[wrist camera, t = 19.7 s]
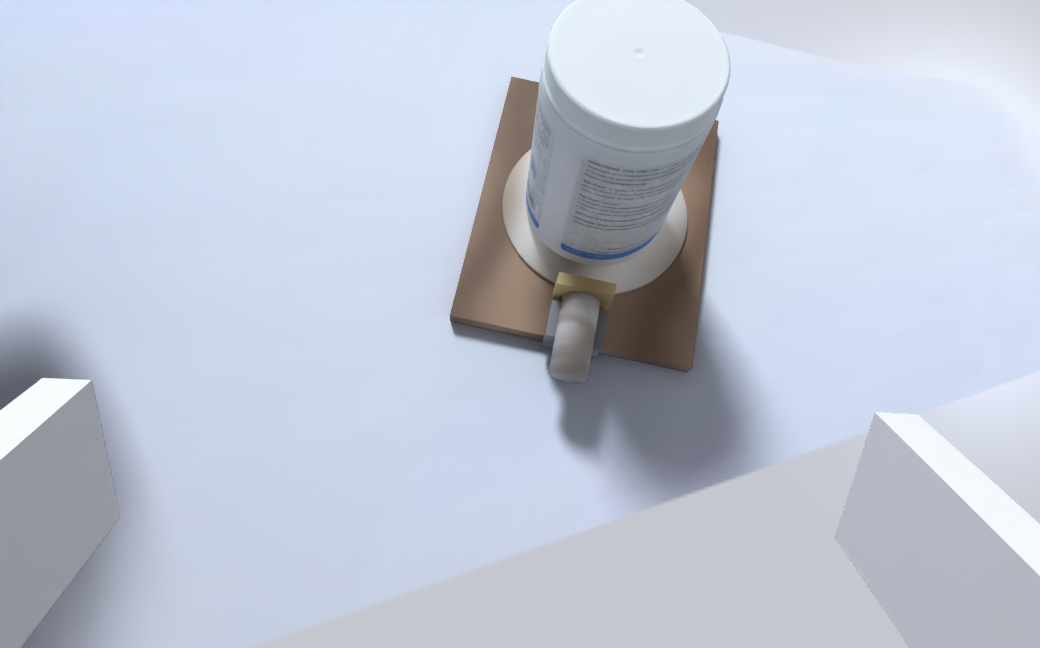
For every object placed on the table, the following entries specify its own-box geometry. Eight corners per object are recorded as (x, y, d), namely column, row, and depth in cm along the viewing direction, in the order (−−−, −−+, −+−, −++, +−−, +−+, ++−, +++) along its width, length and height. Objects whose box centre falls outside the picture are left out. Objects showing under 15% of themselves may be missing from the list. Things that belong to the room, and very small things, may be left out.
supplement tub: (684, 204, 47) (774, 50, 34) (606, 298, 44) (670, 170, 31) (575, 129, 49) (619, -48, 35) (493, 214, 46) (506, 56, 32)
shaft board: (439, 363, 43) (436, 338, 39) (518, 56, 53) (523, 9, 49) (682, 415, 43) (707, 396, 39) (717, 98, 53) (739, 55, 49)
